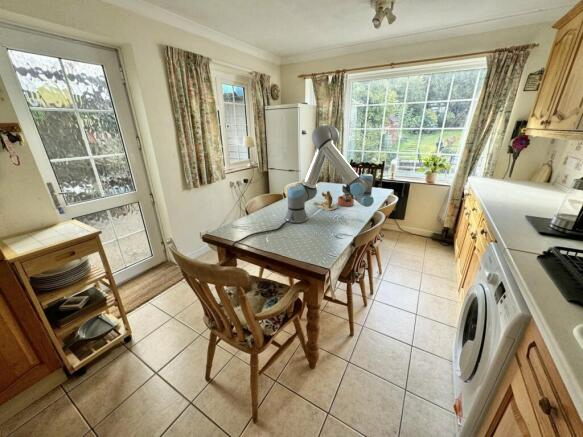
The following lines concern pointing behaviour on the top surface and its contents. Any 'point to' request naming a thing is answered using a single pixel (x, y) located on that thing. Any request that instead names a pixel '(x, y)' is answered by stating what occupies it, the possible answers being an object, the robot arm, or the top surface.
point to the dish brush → (347, 195)
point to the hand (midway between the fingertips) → (344, 187)
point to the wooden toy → (326, 202)
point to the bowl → (343, 203)
